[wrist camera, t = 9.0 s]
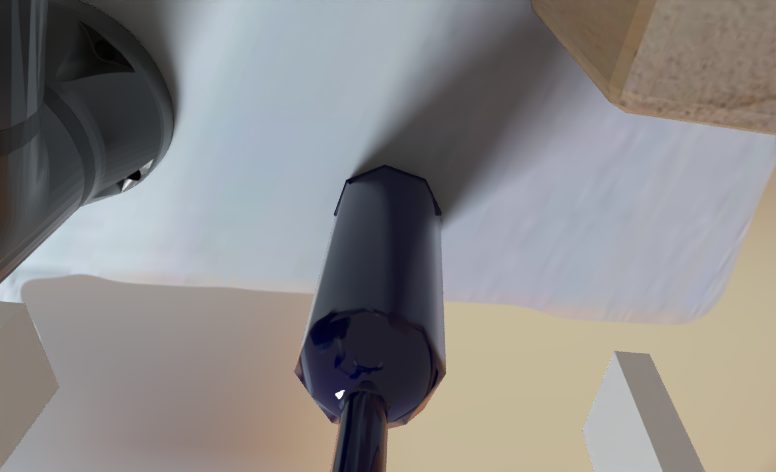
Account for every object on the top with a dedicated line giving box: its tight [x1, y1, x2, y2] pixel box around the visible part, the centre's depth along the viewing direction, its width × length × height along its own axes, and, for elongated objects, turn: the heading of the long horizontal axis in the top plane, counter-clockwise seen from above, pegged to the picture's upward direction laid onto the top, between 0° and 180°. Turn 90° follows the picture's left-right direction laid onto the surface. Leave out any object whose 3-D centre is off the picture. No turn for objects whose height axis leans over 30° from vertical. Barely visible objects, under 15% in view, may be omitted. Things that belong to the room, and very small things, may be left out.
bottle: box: [294, 165, 446, 472], centre depth 33 cm, size 9×9×30 cm
